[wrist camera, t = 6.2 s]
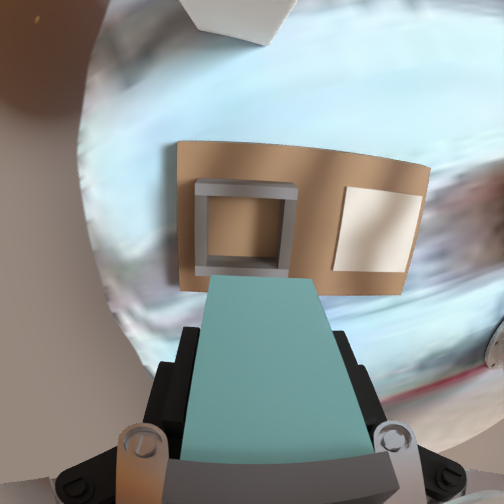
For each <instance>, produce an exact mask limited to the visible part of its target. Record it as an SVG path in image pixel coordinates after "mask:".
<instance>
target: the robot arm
mask: <svg viewBox="0 0 504 504" xmlns="http://www.w3.org/2000/svg"><path fill="white" fill-rule="evenodd" d="M332 332H333V335H334V338H335V340H336V343H337V346H338V348H339V351H340V354H341V356H342V359H343V362H344V365H345V367H346V370H347V373H348V376H349V378H350V381H351V384H352V387H353V390H354V393H355V395H356V398H357V401H358V404H359V407H360V410H361V413H362V416H363V419H364V422H365V425H366V428H367V431H368V434H369V437H370V440H371V443H372V446H373V449H374V452H375V453H378V452H384V451H388V453H389V456H390V459H391V462H392V465H393V468H394V471H395V474H396V477H397V480H398V483H399V486H400V489H399V490H398V491H397V492H396V493H394V494H393V495H392V496H391V497H390V498H389V499H388V500H387V501H385V502H384V503H382V504H504V474H497V473H491V472H484V471H478V470H473V469H468V470H467V471H465V470H464V468H463V467H462V466H461V465H460V464H458V463H456V462H454V461H452V460H450V459H448V458H445V457H443V456H441V455H439V454H437V453H434V452H432V451H430V450H428V449H426V448H424V447H421V446H419V445H417V441H416V437H415V434H414V432H413V430H412V429H411V428H410V427H409V426H408V425H406V424H405V423H402V422H400V421H393V420H392V421H387V419H386V416H385V414H384V411H383V409H382V406H381V404H380V401H379V399H378V397H377V394H376V392H375V389H374V387H373V384H372V382H371V380H370V377H369V375H368V372H367V370H366V368H365V366H363V365H358V363H357V361H356V359H355V356H354V354H353V351H352V349H351V347H350V344H349V342H348V339H347V337H346V335H345V333H344V331H332ZM199 337H200V328H198V327H183V331H182V335H181V339H180V343H179V347H178V351H177V355H176V359H175V363H173V362H163V361H161V362H160V363H159V365H158V368H157V372H156V375H155V379H154V382H153V386H152V389H151V393H150V397H149V400H148V404H147V408H146V411H145V415H144V419H143V423H136V424H133V425H131V426H128V427H127V428H126V429H124V430H123V431H122V433H121V434H120V435H119V439H118V446H116V447H114V448H112V449H110V450H108V451H106V452H104V453H102V454H99V455H97V456H95V457H93V458H91V459H89V460H87V461H85V462H82V463H80V464H78V465H76V466H73V467H71V468H69V469H66V470H65V471H63V472H62V473H61V474H60V475H59V476H58V477H57V478H54V479H50V478H49V477H45V478H39V479H33V480H26V481H18V482H10V483H4V484H0V504H162V502H161V500H162V493H163V486H164V480H165V474H166V467H167V461H168V458H169V459H177V460H180V456H181V449H182V442H183V435H184V428H185V422H186V415H187V409H188V402H189V396H190V390H191V383H192V377H193V371H194V365H195V360H196V354H197V348H198V342H199ZM485 363H486V364H487V366H488V367H489V368H490V369H493V370H495V369H500V368H502V369H503V370H504V321H503V322H502V323H501V324H500V326H499V327H498V328H497V330H496V332H495V333H494V335H493V337H492V338H491V340H490V342H489V345H488V347H487V350H486V353H485Z"/></svg>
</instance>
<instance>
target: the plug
mask: <svg viewBox="0 0 504 504" xmlns="http://www.w3.org/2000/svg"><path fill="white" fill-rule="evenodd" d="M399 489H400V486H399V483H398V480H397V477H396V474H395V471H394V468H393V465H392V462H391V459H390V456H389V453H388V451H384V452H378V453H375V452H374V449H373V446H372V443H371V440H370V437H369V434H368V431H367V428H366V425H365V422H364V419H363V416H362V413H361V410H360V407H359V404H358V401H357V398H356V395H355V393H354V390H353V387H352V384H351V381H350V378H349V376H348V373H347V370H346V367H345V365H344V362H343V359H342V356H341V354H340V351H339V348H338V346H337V343H336V340H335V338H334V335H333V332H332V330H331V327H330V324H329V322H328V319H327V317H326V314H325V311H324V309H323V306H322V304H321V301H320V299H319V296H318V294H317V291H316V289H315V286H314V284H313V281H312V279H302V278H274V277H250V276H228V275H211V278H210V283H209V288H208V293H207V299H206V304H205V309H204V315H203V320H202V325H201V331H200V337H199V342H198V348H197V354H196V360H195V365H194V371H193V377H192V383H191V390H190V396H189V402H188V409H187V415H186V422H185V428H184V435H183V442H182V449H181V456H180V460H177V459H169V458H168V461H167V467H166V474H165V480H164V486H163V493H162V500H161V502H162V504H382V503H384V502H385V501H387V500H388V499H389V498H390V497H391V496H392V495H393V494H394V493H396V492H397V491H398V490H399Z"/></svg>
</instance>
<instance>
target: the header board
mask: <svg viewBox="0 0 504 504" xmlns="http://www.w3.org/2000/svg"><path fill="white" fill-rule="evenodd" d="M430 170H431V168H429V167H426V166H424V165H420V164H415V163H410V162H405V161H400V160H394V159H389V158H383V157H377V156H371V155H364V154H358V153H351V152H344V151H336V150H328V149H320V148H311V147H301V146H290V145H279V144H265V143H249V142H228V141H179V142H177V236H178V264H179V284H180V291H191V292H208V288H209V283H210V278H211V275H228V276H250V277H274V278H302V279H312V281H313V284H314V286H315V289H316V291H317V294H318V295H333V296H362V295H401V293H402V290H403V286H404V283H405V280H406V276H407V273H408V269H409V266H410V262H411V259H412V255H413V251H414V247H415V243H416V239H417V235H418V231H419V227H420V222H421V218H422V213H423V208H424V203H425V198H426V193H427V188H428V182H429V176H430Z"/></svg>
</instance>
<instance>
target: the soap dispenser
mask: <svg viewBox="0 0 504 504" xmlns="http://www.w3.org/2000/svg"><path fill="white" fill-rule="evenodd" d="M179 1H180V3H181V4H182V6H183V7H184V9H185V10H186V12H187V13H188V15H189V16H190V18H191V19H192V21H193V22H194V24H195V25H196V27H197V28H198V29H199V30H201V31H206V32H211V33H216V34H221V35H225V36H230V37H234V38H238V39H242V40H246V41H250V42H253V43H257V44H260V45H264V46H268V45H270V44H271V42H272V40H273V39H274V37H275V36H276V34H277V32H278V31H279V29H280V28H281V26H282V24H283V23H284V21H285V20H286V18H287V17H288V15H289V14H290V12H291V10H292V9H293V7H294V6H295V4H296V3H297V1H298V0H179Z"/></svg>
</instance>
